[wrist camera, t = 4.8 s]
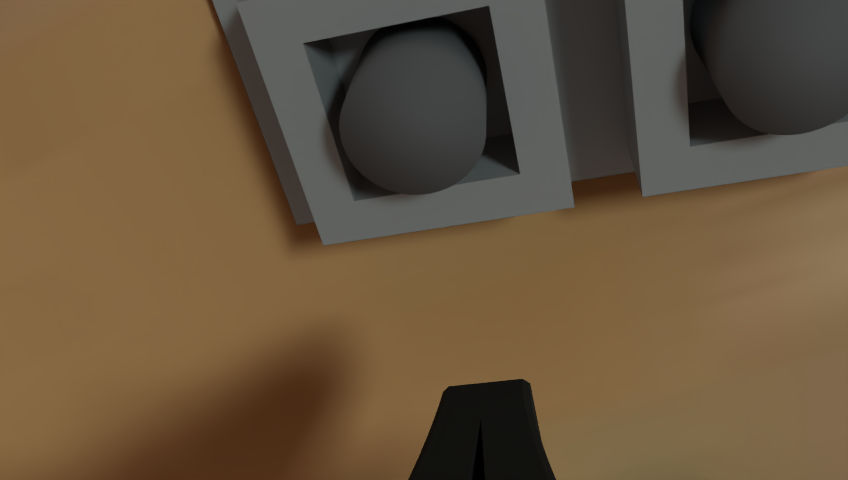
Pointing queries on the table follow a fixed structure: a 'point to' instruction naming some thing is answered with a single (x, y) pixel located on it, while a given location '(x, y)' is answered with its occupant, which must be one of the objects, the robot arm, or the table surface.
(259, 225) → the table surface
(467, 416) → the robot arm
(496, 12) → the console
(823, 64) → the plunger
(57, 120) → the table surface
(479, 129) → the plunger
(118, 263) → the table surface
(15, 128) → the table surface
